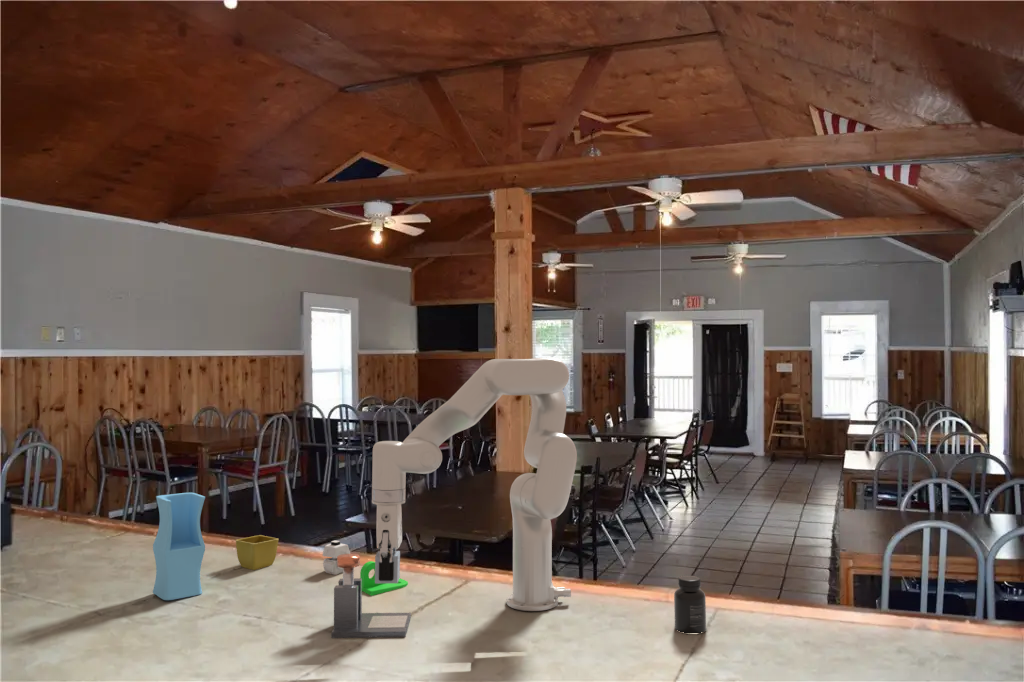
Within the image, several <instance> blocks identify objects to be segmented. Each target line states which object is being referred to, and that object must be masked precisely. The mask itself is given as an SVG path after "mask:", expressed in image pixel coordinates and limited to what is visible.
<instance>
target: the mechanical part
mask: <svg viewBox="0 0 1024 682" xmlns="http://www.w3.org/2000/svg"><path fill="white" fill-rule="evenodd" d="M372 570H374V574H373V576H372V577H370V576H369V574H370V573H371V571H372ZM359 573H360V574H359V575H360V576H359V578H362V593H363V592H364V593H366V594H367V595H369V596H371V597H372V596H373V597H374V596H377V595H380V594H385V593H387V592H391V591H395V590H398V589H399V590H400V589H404V588H405V587H407V586H408V584H409V582H408V580H405V579H403V578H399V581H398V583H375V561H373V560H371V561H367V562H365V563H364V564H363V565H362V566H361V568H360V571H359Z"/></svg>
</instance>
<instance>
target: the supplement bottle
mask: <svg viewBox="0 0 1024 682" xmlns="http://www.w3.org/2000/svg"><path fill="white" fill-rule="evenodd" d="M677 587H679V588H677V589H676V590H675V592H674V594H673V600H674V601H673V602H674V603H673V604H674V606H673V607H674V629H675V631H677V630H678V631H680V632H684V633H701V632H704V631H705V630H706V631H707V613H706V612H707V611H706V610H707V607H706V604H707V601H706V594H705V592H704V591H703V590H702V589H701V587H702V584H701V578H700V577H698V576H695V575H681V576H679V577H678V585H677ZM678 631H677V632H678ZM706 631H705V632H706ZM680 632H679V633H680ZM705 632H704V633H705Z"/></svg>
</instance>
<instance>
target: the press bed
mask: <svg viewBox="0 0 1024 682" xmlns="http://www.w3.org/2000/svg"><path fill="white" fill-rule="evenodd" d="M362 612H363V591H362V578H360V577H359V578H355V577H354V585H343V578H339V580H338V585H334V588H333V629H332V631H331V639H348V638H349V639H350V638H351V639H355V638H357V639H358V638H359V639H360V638H361V639H362V638H406V636H407V633H408V629H409V625H410V622H411V617H412V615H411V614H412V613H411V612H363V613H362Z"/></svg>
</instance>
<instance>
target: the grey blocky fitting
mask: <svg viewBox="0 0 1024 682" xmlns="http://www.w3.org/2000/svg"><path fill="white" fill-rule="evenodd" d="M342 554H351V551H350V549H349V545H348V544H345V543H341V541H340V540H332V541H331V542H330V543H328V544H326V545H324V547H323V551H322V557H327V558H324V559H323V561H322V564H323V569H324V571H325V573H326V574H330V575H338V574H343V568H340V567H337V556H339V555H342Z"/></svg>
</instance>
